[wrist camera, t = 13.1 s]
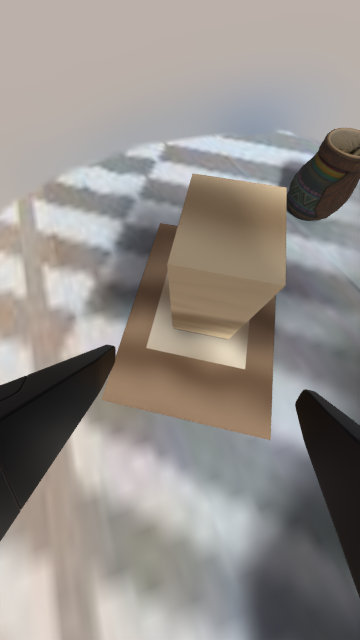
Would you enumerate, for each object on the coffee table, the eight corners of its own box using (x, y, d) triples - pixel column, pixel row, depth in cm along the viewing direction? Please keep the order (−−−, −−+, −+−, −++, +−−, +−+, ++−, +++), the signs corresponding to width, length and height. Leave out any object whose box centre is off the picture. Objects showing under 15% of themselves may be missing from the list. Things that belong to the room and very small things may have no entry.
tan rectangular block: (225, 342, 17) (285, 285, 8) (172, 331, 17) (167, 263, 8) (232, 286, 19) (286, 187, 10) (185, 277, 19) (192, 173, 10)
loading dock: (257, 432, 17) (271, 440, 14) (111, 398, 18) (100, 399, 15) (267, 257, 24) (278, 242, 21) (161, 238, 24) (160, 221, 22)
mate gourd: (270, 197, 27) (318, 100, 18) (314, 188, 28) (381, 90, 19) (294, 233, 25) (363, 142, 16) (341, 221, 26) (432, 128, 17)
